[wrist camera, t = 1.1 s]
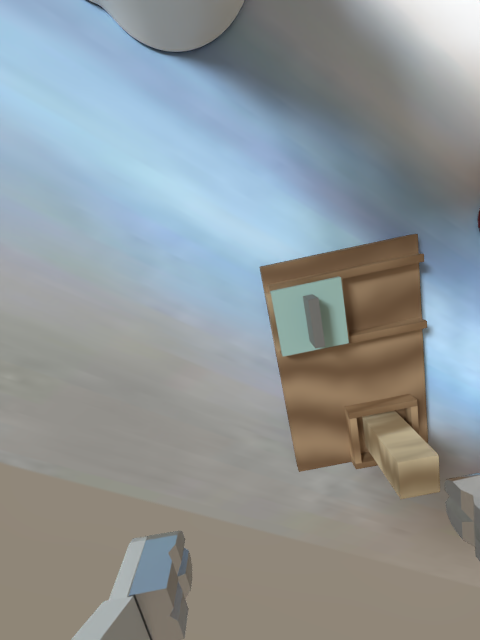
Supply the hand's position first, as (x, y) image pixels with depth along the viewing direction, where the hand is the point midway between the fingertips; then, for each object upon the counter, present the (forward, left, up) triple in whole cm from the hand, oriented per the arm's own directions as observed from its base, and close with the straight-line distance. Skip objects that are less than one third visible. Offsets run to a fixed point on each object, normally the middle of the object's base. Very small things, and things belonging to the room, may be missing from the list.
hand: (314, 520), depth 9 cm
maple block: (+17, +13, -24) cm, 33 cm away
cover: (0, +6, -23) cm, 23 cm away
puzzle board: (+8, +10, -26) cm, 29 cm away
